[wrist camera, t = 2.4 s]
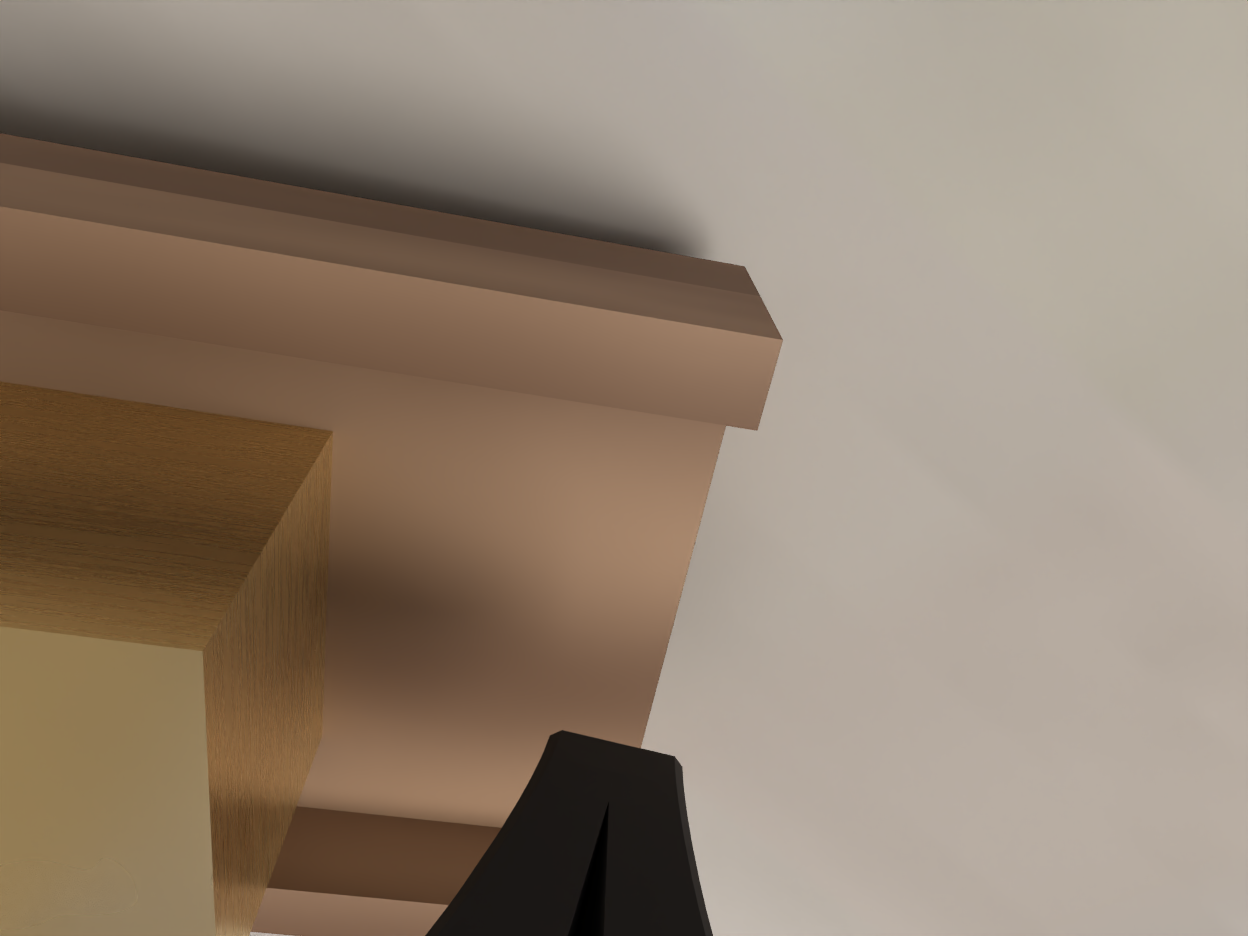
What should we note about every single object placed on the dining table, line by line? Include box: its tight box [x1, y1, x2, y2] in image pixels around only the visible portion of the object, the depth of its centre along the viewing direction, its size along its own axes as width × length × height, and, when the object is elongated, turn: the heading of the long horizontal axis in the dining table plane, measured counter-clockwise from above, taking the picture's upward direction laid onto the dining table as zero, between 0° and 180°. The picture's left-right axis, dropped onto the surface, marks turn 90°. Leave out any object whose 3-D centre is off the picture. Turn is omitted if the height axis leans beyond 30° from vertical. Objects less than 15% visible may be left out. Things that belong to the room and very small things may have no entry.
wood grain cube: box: [0, 381, 333, 936], centre depth 10 cm, size 5×5×4 cm
